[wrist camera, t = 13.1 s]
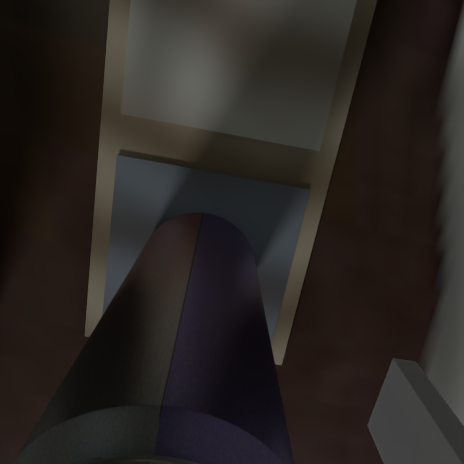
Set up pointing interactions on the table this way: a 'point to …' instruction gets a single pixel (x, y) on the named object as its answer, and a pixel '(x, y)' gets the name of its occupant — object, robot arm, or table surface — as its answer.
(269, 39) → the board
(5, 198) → the table surface
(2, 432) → the table surface
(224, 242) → the beverage can
